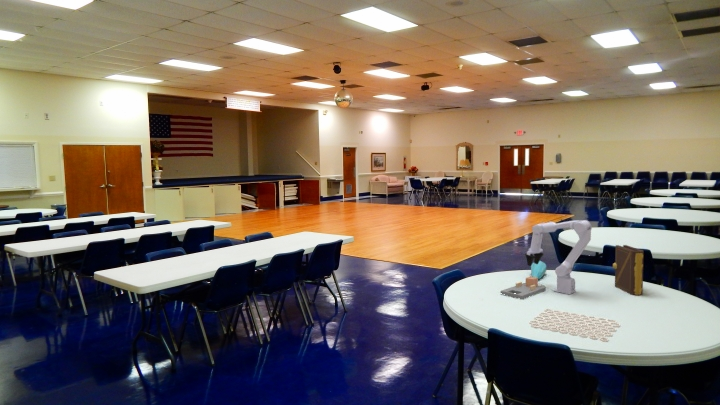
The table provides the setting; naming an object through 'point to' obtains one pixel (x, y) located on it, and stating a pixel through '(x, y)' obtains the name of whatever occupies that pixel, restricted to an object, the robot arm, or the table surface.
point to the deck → (523, 290)
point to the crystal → (538, 269)
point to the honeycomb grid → (559, 323)
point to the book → (629, 269)
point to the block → (531, 281)
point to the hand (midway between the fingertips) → (532, 264)
